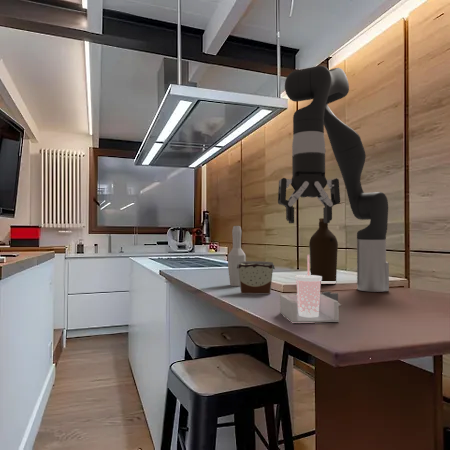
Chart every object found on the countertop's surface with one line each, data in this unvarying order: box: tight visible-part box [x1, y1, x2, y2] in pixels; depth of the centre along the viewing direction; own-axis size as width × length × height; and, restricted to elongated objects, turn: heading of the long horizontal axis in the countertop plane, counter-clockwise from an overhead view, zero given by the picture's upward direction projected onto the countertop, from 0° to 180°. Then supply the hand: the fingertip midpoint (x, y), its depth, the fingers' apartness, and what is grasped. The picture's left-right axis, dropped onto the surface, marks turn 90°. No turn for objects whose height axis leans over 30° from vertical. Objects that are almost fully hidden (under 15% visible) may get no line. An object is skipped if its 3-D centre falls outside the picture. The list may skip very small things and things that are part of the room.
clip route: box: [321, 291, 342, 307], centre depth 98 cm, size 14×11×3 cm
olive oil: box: [308, 217, 339, 282], centre depth 144 cm, size 11×11×25 cm
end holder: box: [279, 293, 340, 323], centre depth 86 cm, size 10×10×5 cm
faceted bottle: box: [227, 225, 247, 287], centre depth 138 cm, size 6×6×22 cm
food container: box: [236, 260, 276, 295], centre depth 122 cm, size 12×6×10 cm, turn 84°
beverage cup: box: [294, 254, 322, 317], centre depth 86 cm, size 6×6×14 cm
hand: (309, 223), depth 87 cm, fingers open, 8 cm apart
